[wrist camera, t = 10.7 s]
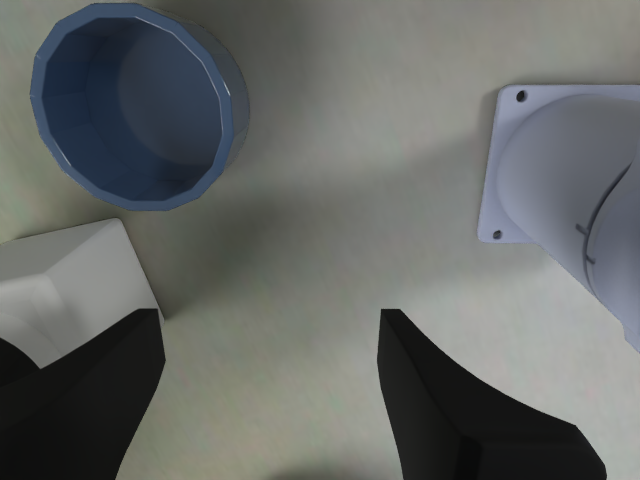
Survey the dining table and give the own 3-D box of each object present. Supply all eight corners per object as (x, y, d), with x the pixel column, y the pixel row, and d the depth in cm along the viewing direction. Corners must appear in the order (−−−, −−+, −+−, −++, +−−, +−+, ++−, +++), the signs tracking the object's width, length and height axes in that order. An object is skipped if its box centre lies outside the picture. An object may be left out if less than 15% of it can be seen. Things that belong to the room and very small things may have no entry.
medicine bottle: (5, 240, 25) (-263, 392, 14) (121, 214, 24) (-62, 354, 13) (62, 342, 27) (-122, 538, 16) (168, 322, 26) (50, 514, 15)
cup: (243, 11, 20) (223, 2, 16) (254, 186, 23) (240, 212, 19) (65, 12, 20) (5, 3, 16) (101, 185, 23) (58, 210, 19)
